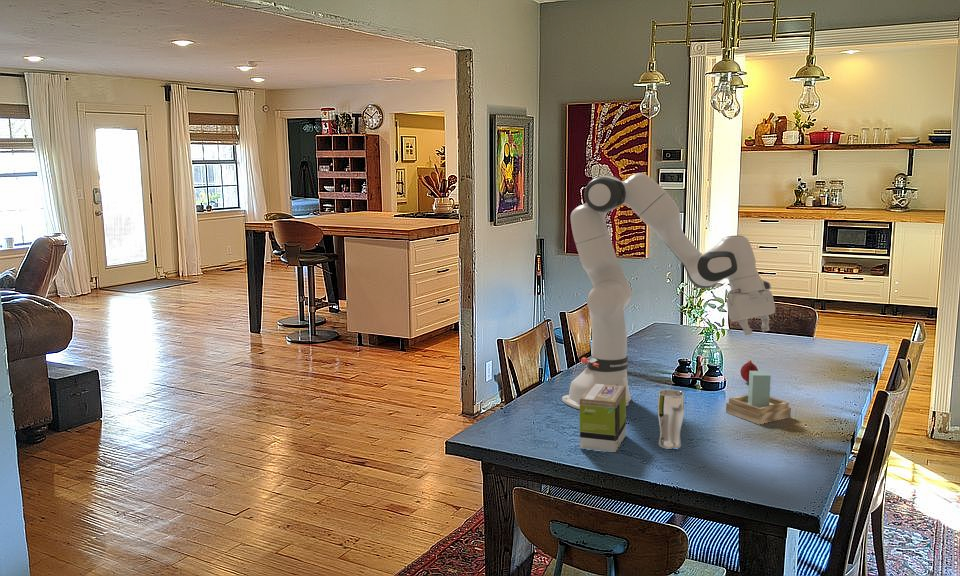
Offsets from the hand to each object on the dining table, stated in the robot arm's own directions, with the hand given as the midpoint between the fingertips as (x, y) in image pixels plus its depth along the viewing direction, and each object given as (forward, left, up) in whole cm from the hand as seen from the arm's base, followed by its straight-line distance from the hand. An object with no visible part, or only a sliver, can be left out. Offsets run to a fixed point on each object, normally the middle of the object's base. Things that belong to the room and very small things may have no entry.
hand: (757, 332), depth 235 cm
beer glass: (-40, -8, -25) cm, 48 cm away
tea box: (-54, +3, -25) cm, 60 cm away
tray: (0, -2, -25) cm, 25 cm away
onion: (+23, +24, -25) cm, 41 cm away
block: (0, -2, -22) cm, 22 cm away
